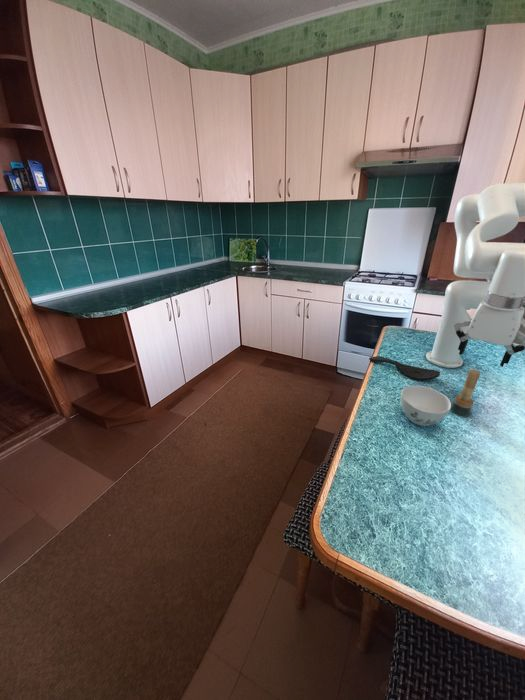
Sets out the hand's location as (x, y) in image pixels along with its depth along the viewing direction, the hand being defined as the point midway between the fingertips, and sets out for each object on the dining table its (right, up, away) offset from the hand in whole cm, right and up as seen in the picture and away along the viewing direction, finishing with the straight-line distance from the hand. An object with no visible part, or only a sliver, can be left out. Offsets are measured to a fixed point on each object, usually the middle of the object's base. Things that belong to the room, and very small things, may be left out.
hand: (481, 358), depth 81 cm
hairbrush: (-9, -5, +28) cm, 30 cm away
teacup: (-15, -18, +4) cm, 23 cm away
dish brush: (-2, -16, +6) cm, 17 cm away
